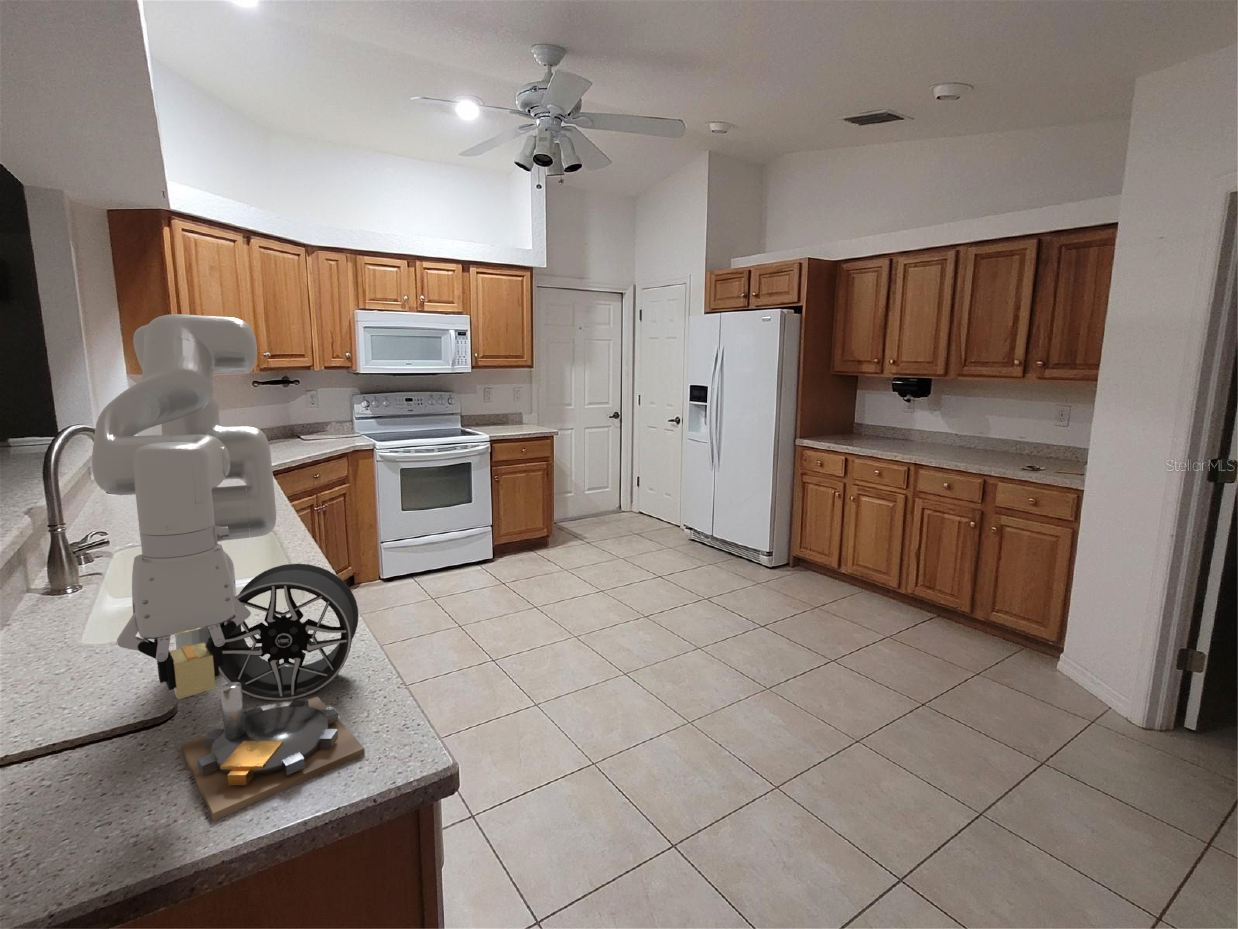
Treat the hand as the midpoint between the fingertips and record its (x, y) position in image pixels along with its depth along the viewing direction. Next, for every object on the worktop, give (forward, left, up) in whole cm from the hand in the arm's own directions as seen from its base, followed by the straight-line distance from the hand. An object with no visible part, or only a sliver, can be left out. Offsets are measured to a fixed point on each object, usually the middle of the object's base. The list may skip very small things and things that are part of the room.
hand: (192, 677), depth 78 cm
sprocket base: (+2, +8, -13) cm, 16 cm away
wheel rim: (-15, +16, -14) cm, 26 cm away
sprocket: (+2, +8, -12) cm, 15 cm away
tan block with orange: (0, 0, -1) cm, 1 cm away
